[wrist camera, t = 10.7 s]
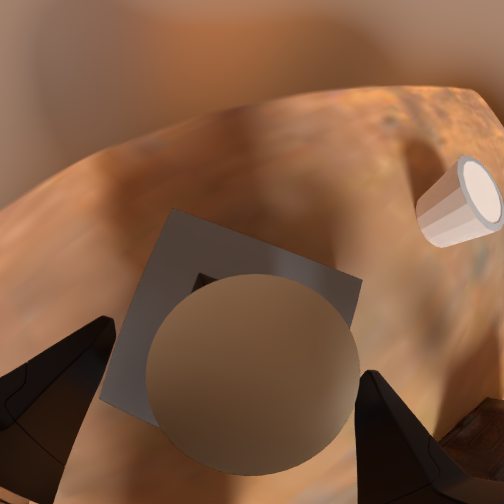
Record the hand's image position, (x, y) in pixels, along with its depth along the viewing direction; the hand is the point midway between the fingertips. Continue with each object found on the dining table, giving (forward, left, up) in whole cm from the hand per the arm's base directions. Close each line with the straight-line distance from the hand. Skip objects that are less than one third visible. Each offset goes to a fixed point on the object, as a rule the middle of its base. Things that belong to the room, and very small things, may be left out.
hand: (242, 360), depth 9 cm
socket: (0, 0, -10) cm, 10 cm away
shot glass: (-15, -16, -10) cm, 24 cm away
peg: (0, 0, -10) cm, 10 cm away
